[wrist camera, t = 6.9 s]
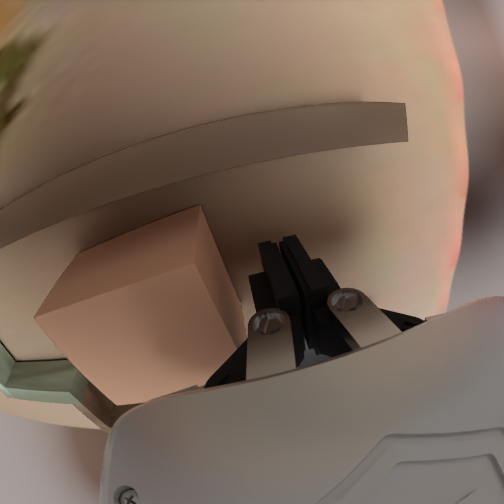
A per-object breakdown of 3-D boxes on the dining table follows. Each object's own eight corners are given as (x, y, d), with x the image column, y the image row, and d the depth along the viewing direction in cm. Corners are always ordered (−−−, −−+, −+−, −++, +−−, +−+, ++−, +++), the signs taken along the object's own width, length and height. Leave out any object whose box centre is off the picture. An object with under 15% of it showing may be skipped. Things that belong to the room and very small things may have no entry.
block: (77, 254, 12) (33, 317, 8) (200, 204, 12) (194, 262, 7) (131, 336, 15) (116, 405, 11) (241, 305, 15) (254, 380, 10)
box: (-61, 253, 10) (-81, 273, 7) (365, 101, 10) (405, 103, 8) (45, 401, 18) (38, 424, 16) (361, 356, 19) (377, 385, 16)
